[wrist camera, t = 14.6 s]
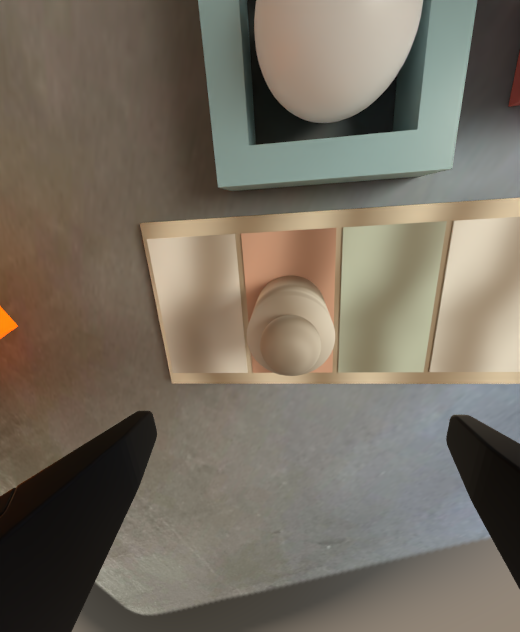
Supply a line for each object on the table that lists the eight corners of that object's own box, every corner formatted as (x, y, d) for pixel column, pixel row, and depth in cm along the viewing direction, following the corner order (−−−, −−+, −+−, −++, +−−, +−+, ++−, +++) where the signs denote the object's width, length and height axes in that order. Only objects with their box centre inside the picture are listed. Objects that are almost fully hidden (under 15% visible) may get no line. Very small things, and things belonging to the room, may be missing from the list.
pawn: (325, 273, 18) (344, 309, 12) (324, 339, 20) (341, 402, 13) (253, 276, 19) (234, 313, 12) (258, 340, 20) (244, 402, 14)
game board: (567, 194, 16) (579, 193, 15) (514, 378, 20) (522, 384, 19) (144, 222, 19) (138, 223, 18) (174, 379, 23) (171, 384, 22)
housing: (452, -101, 13) (508, -209, 9) (419, 176, 16) (451, 168, 13) (208, -57, 14) (183, -138, 11) (231, 191, 18) (217, 187, 14)
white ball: (396, -31, 13) (486, -232, 7) (384, 131, 15) (445, 82, 9) (257, -10, 14) (233, -175, 8) (265, 143, 16) (250, 104, 10)
